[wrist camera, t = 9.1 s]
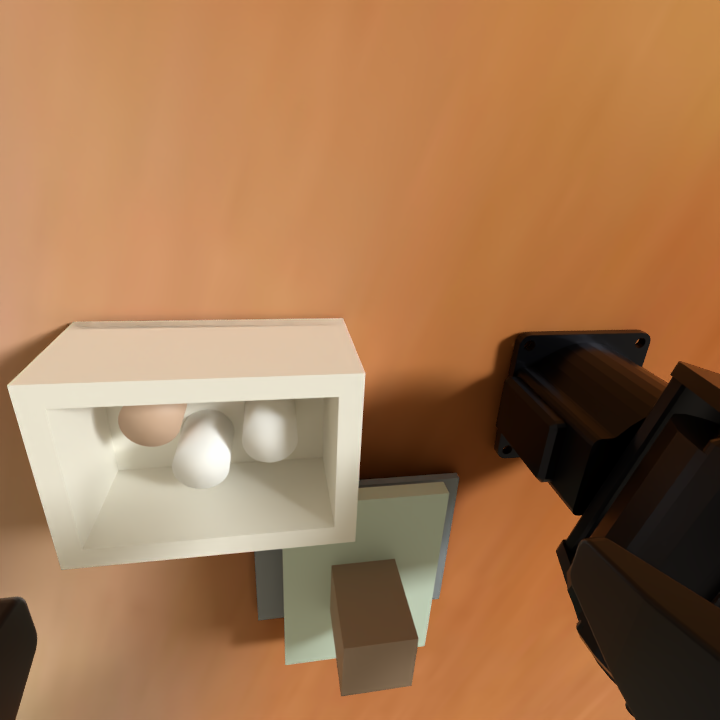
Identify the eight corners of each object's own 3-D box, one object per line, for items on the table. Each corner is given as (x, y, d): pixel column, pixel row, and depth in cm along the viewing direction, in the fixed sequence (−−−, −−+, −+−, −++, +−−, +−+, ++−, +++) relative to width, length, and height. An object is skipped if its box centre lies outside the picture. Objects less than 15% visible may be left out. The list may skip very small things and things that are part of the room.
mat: (456, 472, 24) (459, 477, 23) (436, 592, 27) (439, 598, 27) (251, 487, 22) (250, 493, 22) (258, 613, 26) (258, 620, 25)
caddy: (342, 318, 19) (365, 373, 15) (337, 460, 22) (355, 541, 18) (73, 321, 18) (6, 385, 13) (106, 475, 20) (61, 569, 16)
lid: (415, 615, 27) (449, 728, 22) (284, 632, 26) (288, 755, 21) (436, 468, 23) (485, 565, 18) (280, 479, 22) (284, 587, 16)
